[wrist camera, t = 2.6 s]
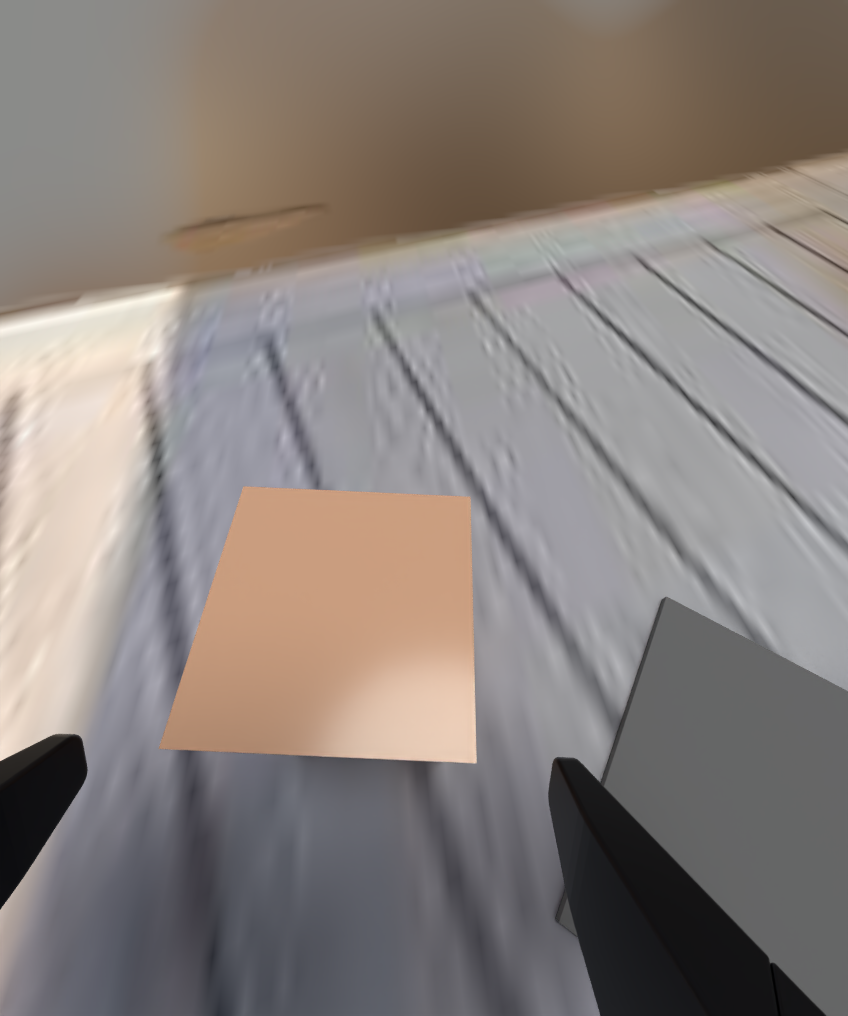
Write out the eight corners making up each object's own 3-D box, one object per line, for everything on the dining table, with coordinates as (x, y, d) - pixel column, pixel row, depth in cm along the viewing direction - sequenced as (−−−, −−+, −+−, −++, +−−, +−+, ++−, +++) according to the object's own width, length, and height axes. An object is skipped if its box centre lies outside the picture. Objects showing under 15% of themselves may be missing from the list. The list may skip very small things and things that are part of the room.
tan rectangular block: (441, 762, 17) (476, 763, 8) (297, 755, 17) (158, 748, 8) (443, 619, 20) (470, 496, 11) (321, 613, 20) (243, 486, 11)
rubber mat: (1039, 1296, 11) (1059, 1312, 11) (555, 918, 15) (559, 922, 14) (992, 773, 17) (1004, 773, 17) (662, 599, 21) (666, 596, 21)
